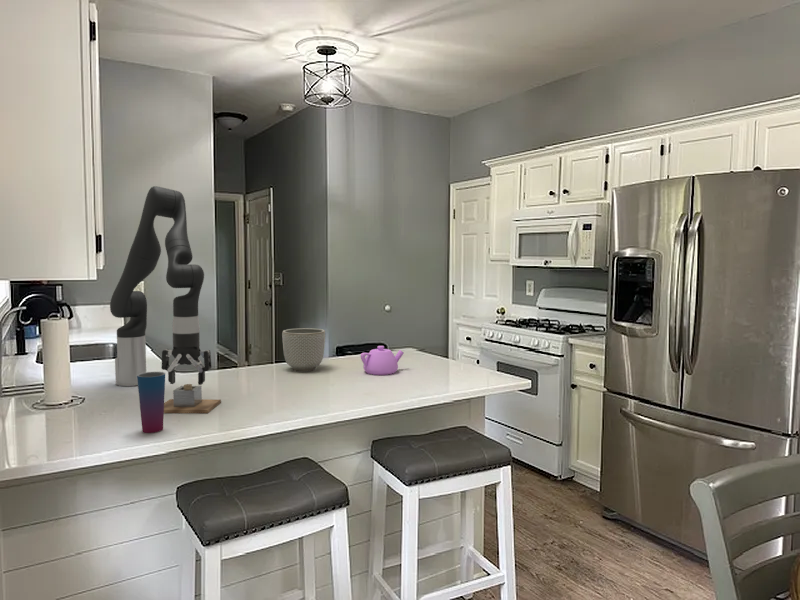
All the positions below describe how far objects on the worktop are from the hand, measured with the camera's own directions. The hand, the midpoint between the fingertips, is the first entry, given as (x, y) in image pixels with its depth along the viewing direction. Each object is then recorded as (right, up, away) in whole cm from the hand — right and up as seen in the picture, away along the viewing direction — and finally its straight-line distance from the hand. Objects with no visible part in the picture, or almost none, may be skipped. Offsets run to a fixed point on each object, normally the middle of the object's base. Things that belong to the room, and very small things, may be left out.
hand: (186, 383), depth 169 cm
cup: (-1, -9, -21) cm, 23 cm away
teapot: (+58, -4, +55) cm, 80 cm away
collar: (0, -6, 0) cm, 6 cm away
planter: (+26, -3, +58) cm, 64 cm away
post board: (0, -7, +1) cm, 7 cm away
